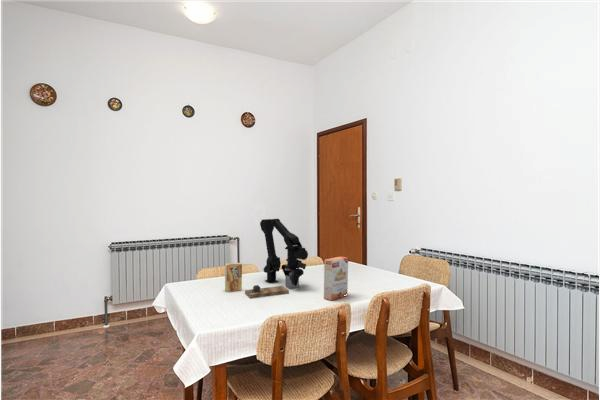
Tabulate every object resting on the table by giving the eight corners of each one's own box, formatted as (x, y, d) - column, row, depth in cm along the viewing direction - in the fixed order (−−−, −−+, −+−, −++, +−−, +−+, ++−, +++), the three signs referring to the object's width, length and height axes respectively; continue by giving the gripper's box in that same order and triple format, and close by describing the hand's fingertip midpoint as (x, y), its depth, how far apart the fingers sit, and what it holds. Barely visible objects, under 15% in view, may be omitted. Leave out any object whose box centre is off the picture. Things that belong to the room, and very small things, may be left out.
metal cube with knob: (285, 286, 211) (285, 272, 211) (294, 285, 214) (294, 271, 214) (289, 289, 206) (289, 274, 206) (298, 288, 209) (298, 273, 209)
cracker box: (332, 301, 183) (332, 260, 183) (323, 298, 187) (323, 259, 187) (348, 295, 194) (348, 257, 193) (339, 293, 198) (339, 255, 197)
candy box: (239, 288, 207) (240, 262, 206) (242, 290, 203) (242, 263, 203) (224, 290, 203) (224, 263, 203) (226, 292, 199) (226, 264, 199)
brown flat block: (250, 298, 188) (250, 289, 187) (244, 293, 197) (244, 284, 196) (288, 293, 197) (288, 284, 197) (281, 289, 206) (281, 280, 206)
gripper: (311, 259, 205) (311, 286, 205) (297, 254, 222) (297, 279, 222) (294, 260, 200) (294, 288, 200) (281, 255, 217) (281, 281, 217)
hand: (292, 284), depth 210 cm, fingers open, 9 cm apart
